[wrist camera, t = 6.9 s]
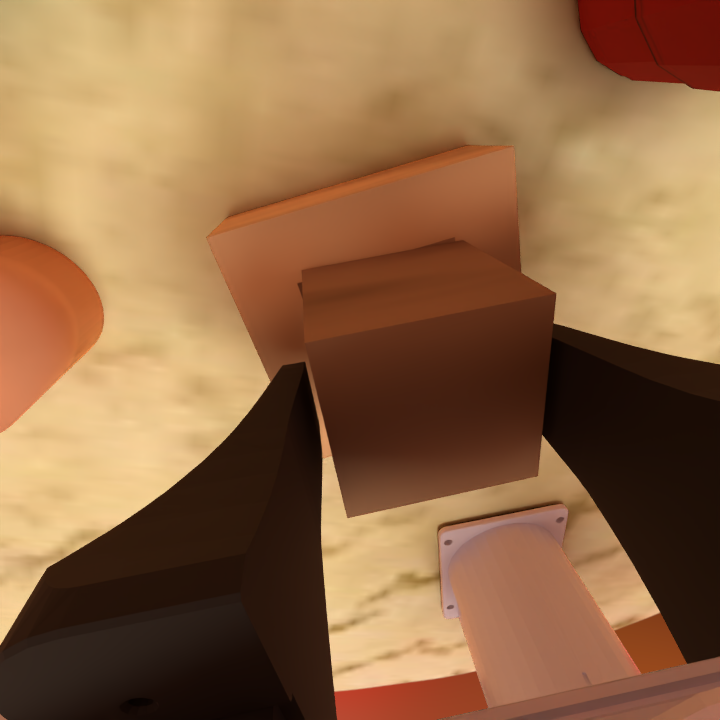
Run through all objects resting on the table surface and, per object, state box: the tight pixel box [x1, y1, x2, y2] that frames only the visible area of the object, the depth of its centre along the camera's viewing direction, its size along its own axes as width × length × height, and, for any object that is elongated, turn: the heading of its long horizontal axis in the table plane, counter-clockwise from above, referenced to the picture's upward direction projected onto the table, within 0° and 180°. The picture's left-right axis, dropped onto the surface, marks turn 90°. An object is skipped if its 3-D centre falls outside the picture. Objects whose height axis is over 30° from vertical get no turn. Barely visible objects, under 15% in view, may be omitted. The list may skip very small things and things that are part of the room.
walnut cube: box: [302, 240, 556, 518], centre depth 11 cm, size 5×5×5 cm
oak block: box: [206, 145, 521, 459], centre depth 15 cm, size 9×9×4 cm
